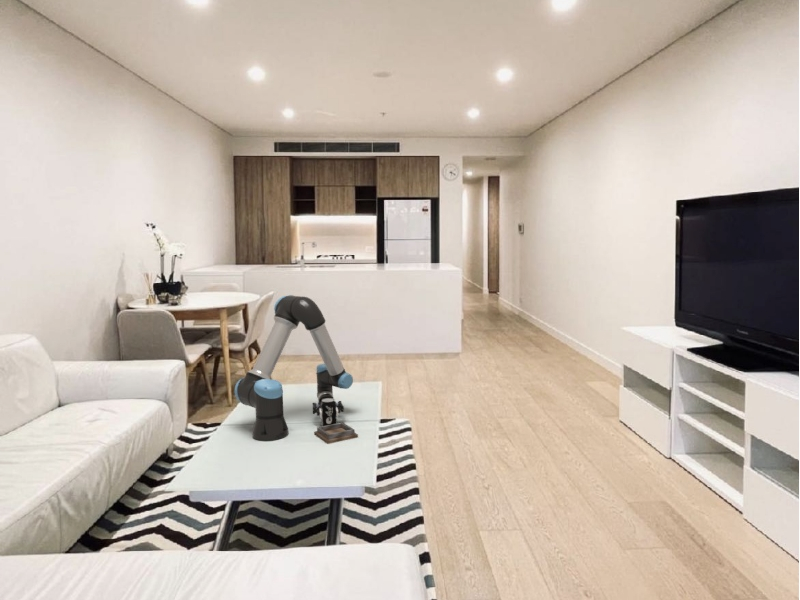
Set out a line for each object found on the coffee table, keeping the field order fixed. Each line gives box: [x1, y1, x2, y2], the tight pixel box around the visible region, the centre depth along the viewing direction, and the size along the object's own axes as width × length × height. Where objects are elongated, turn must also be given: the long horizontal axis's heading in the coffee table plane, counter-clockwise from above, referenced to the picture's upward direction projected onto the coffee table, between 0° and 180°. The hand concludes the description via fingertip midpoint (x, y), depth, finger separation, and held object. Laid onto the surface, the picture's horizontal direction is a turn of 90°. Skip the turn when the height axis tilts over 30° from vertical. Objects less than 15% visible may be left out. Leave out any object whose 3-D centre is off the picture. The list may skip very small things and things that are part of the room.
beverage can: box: [321, 398, 337, 427], centre depth 256 cm, size 7×7×12 cm
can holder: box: [313, 422, 359, 445], centre depth 243 cm, size 14×14×3 cm
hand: (329, 414), depth 251 cm, fingers closed on beverage can, 6 cm apart
